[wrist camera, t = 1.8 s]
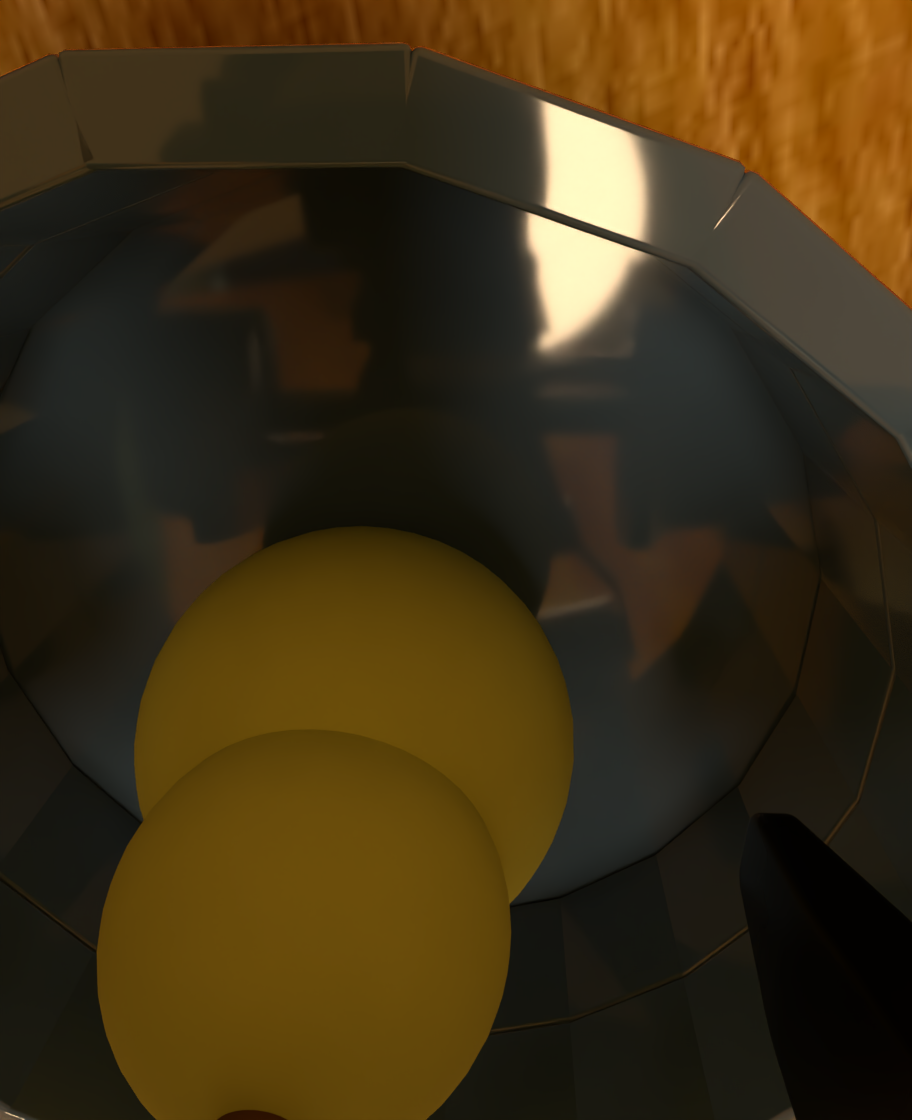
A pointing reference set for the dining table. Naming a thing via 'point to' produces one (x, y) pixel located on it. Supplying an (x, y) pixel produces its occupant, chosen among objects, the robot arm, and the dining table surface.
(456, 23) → the dining table surface
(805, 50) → the dining table surface
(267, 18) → the dining table surface
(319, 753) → the pear toy
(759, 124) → the dining table surface
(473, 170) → the bowl
